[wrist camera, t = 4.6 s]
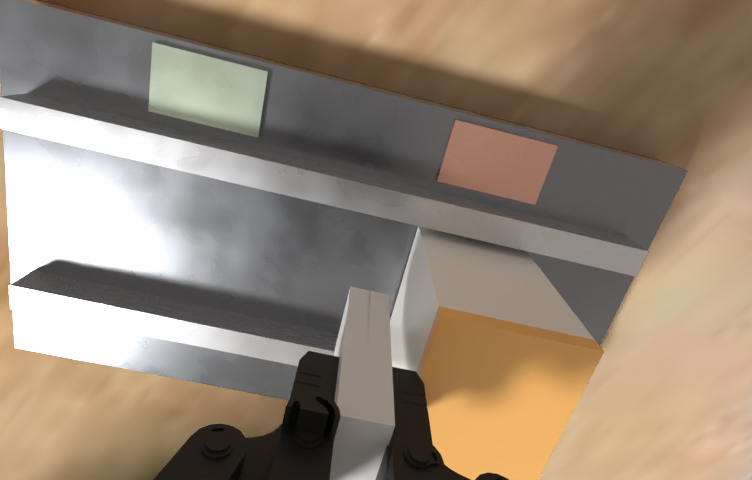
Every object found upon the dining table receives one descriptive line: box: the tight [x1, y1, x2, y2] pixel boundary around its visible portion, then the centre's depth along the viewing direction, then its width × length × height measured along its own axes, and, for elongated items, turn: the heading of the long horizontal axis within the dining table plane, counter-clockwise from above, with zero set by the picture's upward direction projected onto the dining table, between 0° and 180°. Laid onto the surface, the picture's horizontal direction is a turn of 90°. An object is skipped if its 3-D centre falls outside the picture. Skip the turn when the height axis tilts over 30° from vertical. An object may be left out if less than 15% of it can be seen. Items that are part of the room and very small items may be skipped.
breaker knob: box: [390, 226, 604, 480], centre depth 18 cm, size 5×6×8 cm
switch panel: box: [0, 0, 687, 400], centre depth 21 cm, size 28×16×4 cm, turn 76°
